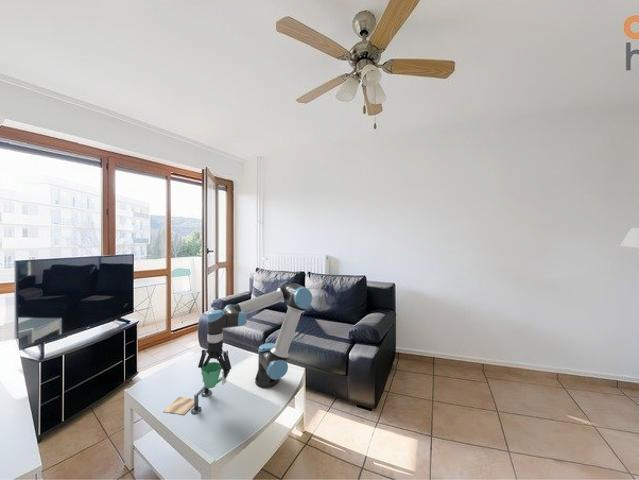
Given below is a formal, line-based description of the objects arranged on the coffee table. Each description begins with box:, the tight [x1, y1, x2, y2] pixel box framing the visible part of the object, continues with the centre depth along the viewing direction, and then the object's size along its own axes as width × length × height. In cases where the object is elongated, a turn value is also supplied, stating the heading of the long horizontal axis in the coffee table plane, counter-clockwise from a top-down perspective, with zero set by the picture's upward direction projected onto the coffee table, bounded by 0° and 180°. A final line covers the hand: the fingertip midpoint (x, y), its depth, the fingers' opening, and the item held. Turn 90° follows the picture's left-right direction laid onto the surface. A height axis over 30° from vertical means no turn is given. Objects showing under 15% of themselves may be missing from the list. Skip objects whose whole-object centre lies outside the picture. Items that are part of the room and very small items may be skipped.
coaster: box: [163, 396, 194, 416], centre depth 140 cm, size 12×12×1 cm
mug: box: [200, 361, 231, 389], centre depth 137 cm, size 15×10×10 cm
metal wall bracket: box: [190, 361, 213, 415], centre depth 143 cm, size 8×19×19 cm, turn 171°
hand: (214, 382), depth 137 cm, fingers closed on mug, 10 cm apart
